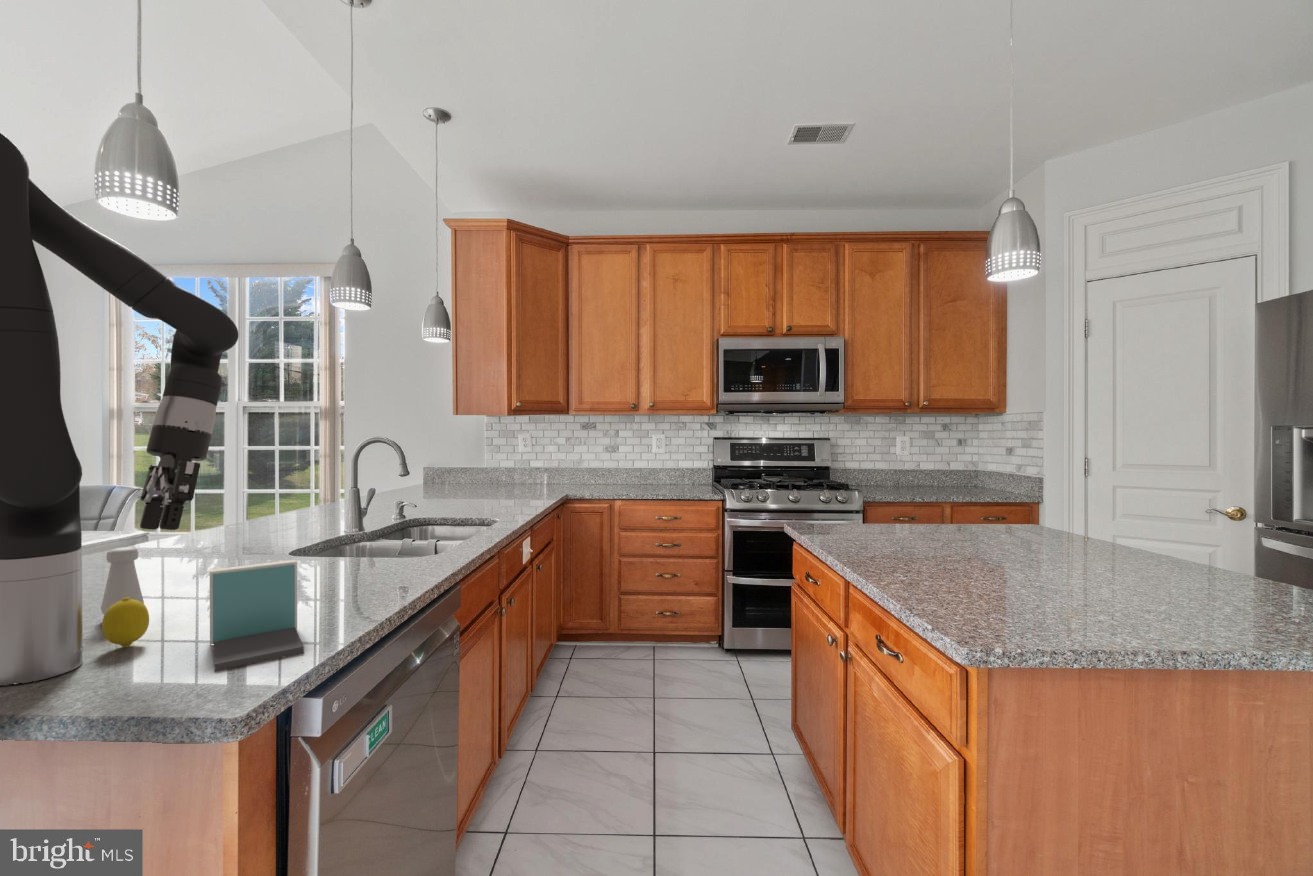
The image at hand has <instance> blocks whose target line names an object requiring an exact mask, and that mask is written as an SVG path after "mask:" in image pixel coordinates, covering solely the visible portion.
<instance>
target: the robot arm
mask: <svg viewBox="0 0 1313 876" xmlns="http://www.w3.org/2000/svg"><path fill="white" fill-rule="evenodd" d="M34 242H35V243H37V244H38V245H40V246H42V247H43V248H45V249H46V250H47V251H49V252H50V253H52V254H54V255H56V256H57V257H58V258H59V259H61V260H63V261H64V262H65V263H67V264H69V266H70V267H73V268H74V269H76V270H77V271H79V272H80V273H81V274H83V275H84V276H85V277H87V278H88V279H89V280H91V281H93V283H95V284H97V285H98V286H99V287H101V288H102V289H103V290H105V291H106V292H107V293H108V294H110V295H112V296H113V297H114V298H116V299H118V300H119V301H120V302H122V304H124V305H126V306H128V307H129V308H131V309H132V310H133V311H135V312H136V313H138V314H139V315H141V316H143V317H145V318H148V319H154V320H155V319H157V320H159V321H161V322H163V323H165V324H166V325H168V326H170V327H172V328H173V329H174V330H175V332H174V335H173V339H172V344H171V353H170V368H169V369H170V370H169V373H168V375H167V379H166V382H165V385H164V386H165V387H164V390H163V394H162V397H161V400H160V402H159V405H158V406H157V409H156V412H155V416H154V419H153V422H152V427H151V429H150V430H151V431H150V435H149V439H148V442H147V445H146V452H147V454H149V455H151V456H154V457H159V459H160V460H159V461H158V464H157V465H155V464H150V466H149V467H148V470H147V471H148V472H147V475H146V479H145V484H144V485H143V489H142V491H141V492H142V493H141V495H140V501H141V502H143V505H144V509H143V512H142V515H141V520H140V523H139V528H140V529H142V530H158V529H160V530H168V531H169V530H170V531H176V530H178V529H179V528H180V524H181V521H182V516H183V511H184V507H185V506H187V504H188V503H189V502H192V501H193V499H195V498H194V497H195V496H194V495H195V491H196V486H197V481H198V476H199V472H200V468H201V463H200V462H203V461H205V460H206V459H207V457H208V453H209V448H210V444H211V440H212V435H213V431H214V428H215V423H216V416H217V407H218V403H219V398H220V394H221V389H222V384H223V380H222V377H221V376H222V375H220V373H219V369H220V365H221V364H220V363H221V358H222V355H223V353H224V352H227V351H229V350H231V348H233V347H234V346H235V345H236V344H237V343H238V341H239V340H238V339H239V331H238V327H237V325H236V324H235V322H234V321H233V320H232V319H231V318H230V316H228V315H227V314H226V313H225V312H224V311H222V310H221V309H220V308H218V307H217V306H215V305H213V304H212V303H210V302H208V301H206V300H205V299H203V298H201V297H199V296H197V295H196V294H194V293H192V292H191V291H188V290H186V289H184V288H183V287H180V286H179V285H177V284H176V283H175V282H174V281H172V280H171V279H170V278H168V277H167V276H166V275H165V274H164V273H162V272H161V271H160V270H159V269H157V268H155V266H153V265H152V264H150V263H149V262H148V261H146V260H145V259H144V258H143V257H141V256H139V254H136V253H135V252H134V251H133V250H131V249H129V248H127V247H126V246H124V245H123V244H121V243H119V242H118V241H116V240H114V239H112V238H110V237H109V236H107V235H105V234H103V233H101V232H100V231H98V230H96V229H94V228H92V227H91V226H90V225H88V224H86V223H84V222H83V221H81V220H80V219H79V218H77V217H75V216H74V215H73V214H71V213H70V212H69V211H67V210H66V209H65V208H63V207H62V206H61V205H59V204H58V203H57V202H56V201H54V200H53V199H52V198H51V197H50V196H49V195H48V194H46V193H45V192H44V191H43V190H42V189H41V188H40V187H39V186H38V185H37V184H36V183H35V182H34V181H33V180H32V179H31V178H30V168H29V164H28V162H27V160H26V157H25V156H24V154H23V153H22V151H21V150H20V149H19V147H18V146H17V145H16V144H15V143H14V141H12V140H11V139H10V138H9V137H8V136H7V135H5V134H4V133H3V132H1V131H0V686H7V685H6V684H14V683H22V684H27V683H31V682H32V681H33V682H37V681H41V680H42V681H43V680H46V679H49V678H53V677H56V676H60V675H62V674H65V673H67V672H71V671H73V670H75V669H76V668H79V667H80V666H81V665H82V664H83V652H84V648H83V647H84V646H83V565H82V563H83V559H82V558H83V553H82V552H83V548H82V547H83V546H82V545H83V544H82V543H83V542H82V541H83V540H82V536H83V535H82V526H81V525H82V523H81V521H82V520H81V507H80V506H81V504H80V503H81V496H80V493H81V491H80V489H81V487H80V484H81V480H82V477H83V468H82V467H83V466H82V465H81V461H80V459H79V458H78V456H77V452H76V449H75V447H74V445H73V442H72V439H71V436H70V432H69V429H68V427H67V423H66V419H65V415H64V411H63V406H62V398H61V396H62V395H61V381H62V380H61V379H62V378H61V373H62V372H61V359H60V358H61V354H60V345H59V337H58V330H57V326H56V320H55V314H54V308H53V305H52V301H51V297H50V294H49V293H50V292H49V289H48V285H47V282H46V278H45V275H44V271H43V269H42V265H41V262H40V259H39V256H38V253H37V250H36V247H35V243H34ZM4 684H5V685H4ZM14 685H15V684H14Z"/></svg>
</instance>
